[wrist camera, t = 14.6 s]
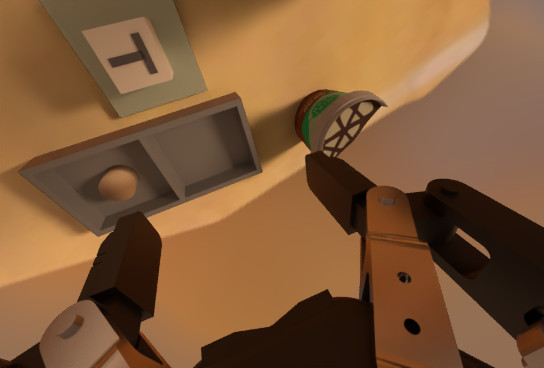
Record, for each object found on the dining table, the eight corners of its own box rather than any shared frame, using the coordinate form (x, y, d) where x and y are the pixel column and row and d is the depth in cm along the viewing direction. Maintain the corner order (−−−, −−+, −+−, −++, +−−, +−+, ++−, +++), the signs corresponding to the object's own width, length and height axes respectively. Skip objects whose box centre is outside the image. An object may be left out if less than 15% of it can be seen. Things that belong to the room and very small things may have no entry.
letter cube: (99, 31, 21) (80, 31, 17) (149, 19, 21) (143, 16, 18) (130, 84, 24) (120, 94, 20) (173, 72, 25) (172, 79, 21)
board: (43, 1, 19) (38, -1, 18) (162, -26, 21) (161, -29, 20) (122, 115, 26) (120, 117, 25) (206, 88, 28) (207, 90, 27)
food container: (323, 61, 31) (370, 70, 23) (344, 87, 35) (391, 103, 27) (273, 129, 34) (300, 157, 27) (297, 147, 38) (327, 175, 30)
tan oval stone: (97, 171, 28) (90, 183, 26) (127, 160, 29) (123, 171, 27) (117, 192, 31) (112, 205, 28) (144, 182, 31) (141, 194, 29)
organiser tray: (34, 157, 25) (17, 172, 23) (235, 92, 29) (240, 97, 26) (104, 220, 33) (97, 236, 30) (256, 162, 37) (262, 172, 34)
